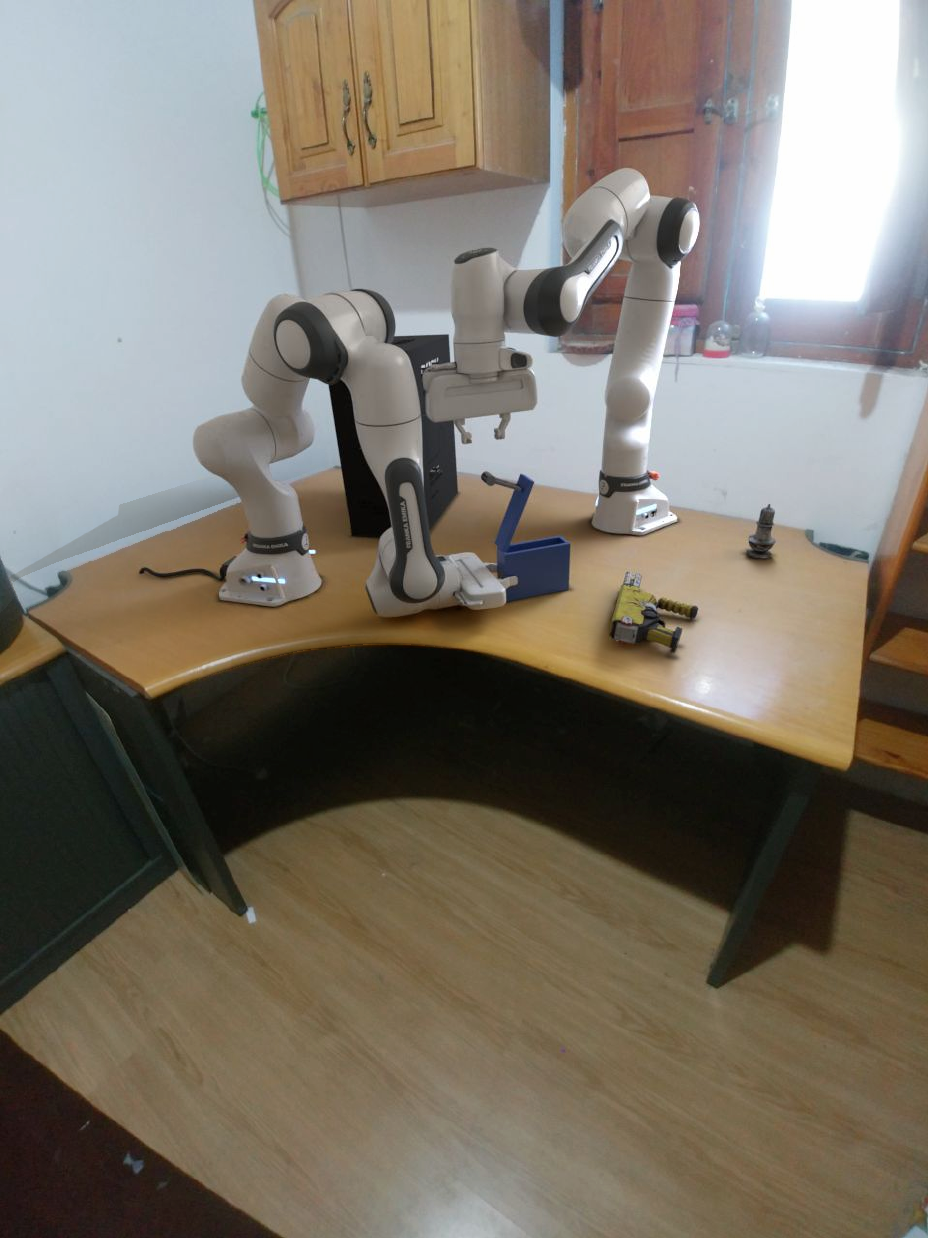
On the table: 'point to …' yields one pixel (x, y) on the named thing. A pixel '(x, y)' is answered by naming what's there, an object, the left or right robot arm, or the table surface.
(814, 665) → the table surface
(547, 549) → the chest
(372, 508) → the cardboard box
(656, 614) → the toy gun
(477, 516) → the table surface
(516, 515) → the lid
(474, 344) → the right robot arm
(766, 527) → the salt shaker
